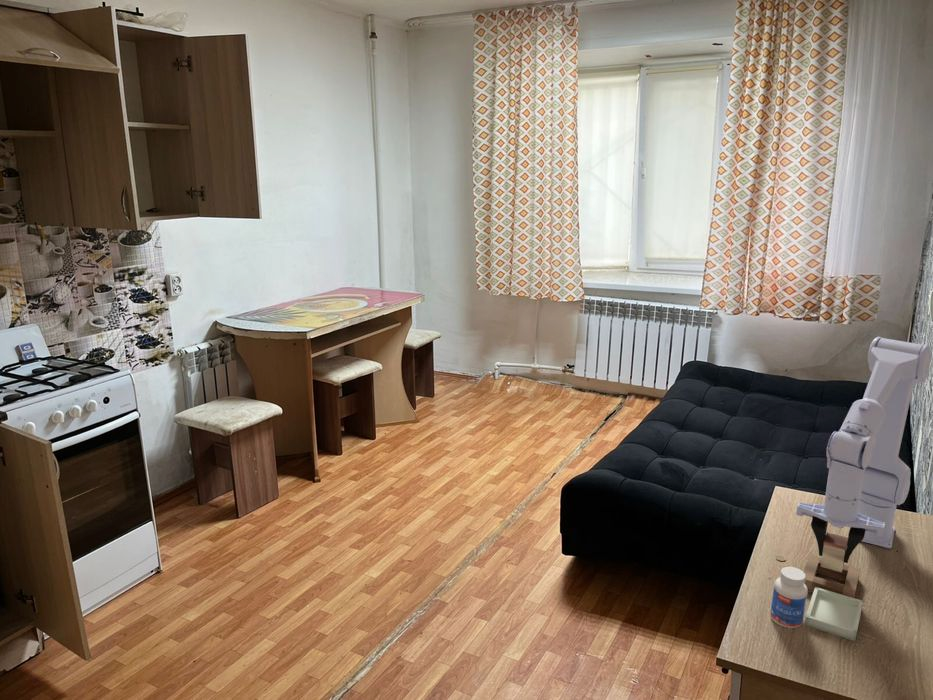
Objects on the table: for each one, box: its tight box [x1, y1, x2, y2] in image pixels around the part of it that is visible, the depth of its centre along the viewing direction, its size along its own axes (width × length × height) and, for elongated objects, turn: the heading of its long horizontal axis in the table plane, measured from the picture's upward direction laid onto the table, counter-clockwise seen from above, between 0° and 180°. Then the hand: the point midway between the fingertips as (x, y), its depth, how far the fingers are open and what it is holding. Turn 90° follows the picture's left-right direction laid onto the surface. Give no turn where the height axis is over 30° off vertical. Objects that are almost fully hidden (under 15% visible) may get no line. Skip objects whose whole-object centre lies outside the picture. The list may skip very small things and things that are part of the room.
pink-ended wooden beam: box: [821, 531, 848, 572], centre depth 134 cm, size 4×4×6 cm
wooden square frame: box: [803, 554, 861, 599], centre depth 136 cm, size 9×9×2 cm
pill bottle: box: [770, 566, 809, 629], centre depth 126 cm, size 6×5×10 cm
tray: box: [804, 587, 864, 642], centre depth 127 cm, size 10×8×2 cm
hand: (833, 556), depth 135 cm, fingers closed on pink-ended wooden beam, 4 cm apart
